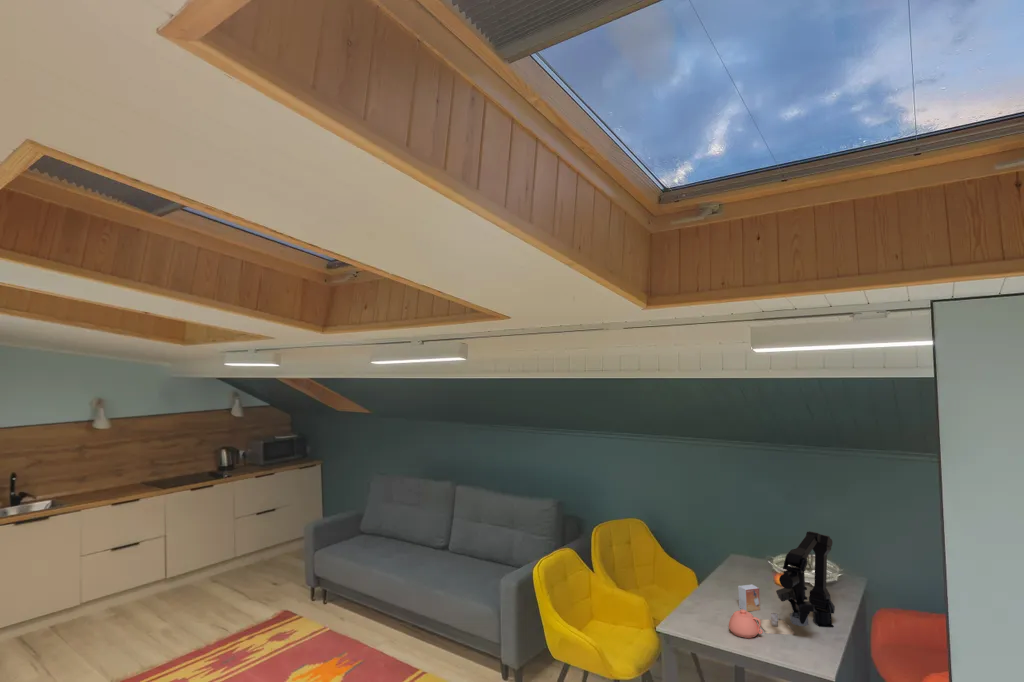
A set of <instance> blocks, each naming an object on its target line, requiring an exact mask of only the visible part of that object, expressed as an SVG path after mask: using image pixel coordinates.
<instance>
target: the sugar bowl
mask: <svg viewBox="0 0 1024 682" xmlns="http://www.w3.org/2000/svg"><path fill="white" fill-rule="evenodd" d="M760 619H761V618H759V617H755V616H754V615H753V614H752V613H751V612H750V611H749V612H747V611H746V610H743V609H741V608H740V610H736V611H734V612H733V613H732V615H730V618H729V621H728V629H729V630H730V631H731V633H733V635H734V636H737V637H740V638H746V639H749V640H750V639H751V638H754V637H757V635H758V634H759V635H762V634H763V633H764V631H763V629H762V628H761V627H760V626H761V621H760ZM757 620H758V621H759V624H758V623H757Z"/></svg>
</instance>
